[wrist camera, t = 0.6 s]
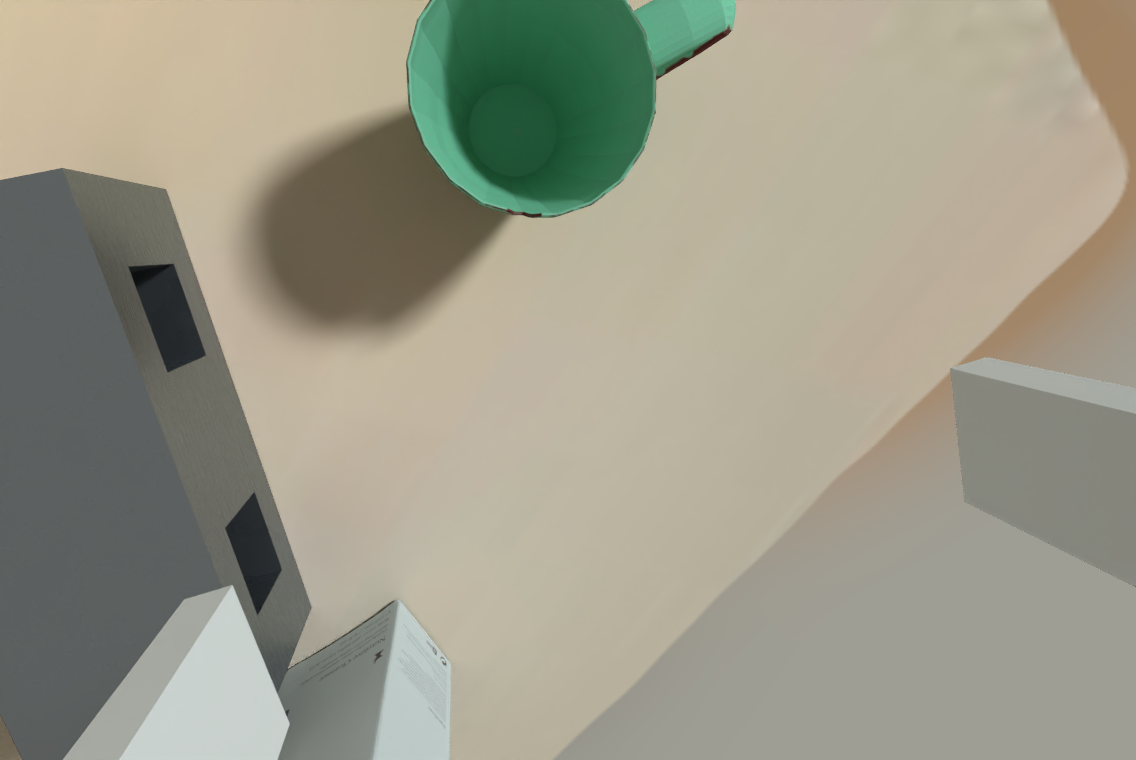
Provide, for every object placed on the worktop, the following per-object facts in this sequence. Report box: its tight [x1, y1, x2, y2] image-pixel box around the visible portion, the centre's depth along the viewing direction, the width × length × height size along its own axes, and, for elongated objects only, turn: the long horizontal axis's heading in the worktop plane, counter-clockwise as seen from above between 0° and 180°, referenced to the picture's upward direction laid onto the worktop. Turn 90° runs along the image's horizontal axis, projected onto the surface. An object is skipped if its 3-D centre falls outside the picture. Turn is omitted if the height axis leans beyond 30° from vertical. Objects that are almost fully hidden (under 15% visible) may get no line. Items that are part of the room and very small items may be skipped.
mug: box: [406, 0, 736, 218], centre depth 30 cm, size 15×10×10 cm
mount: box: [0, 168, 311, 760], centre depth 31 cm, size 24×10×9 cm, turn 13°
